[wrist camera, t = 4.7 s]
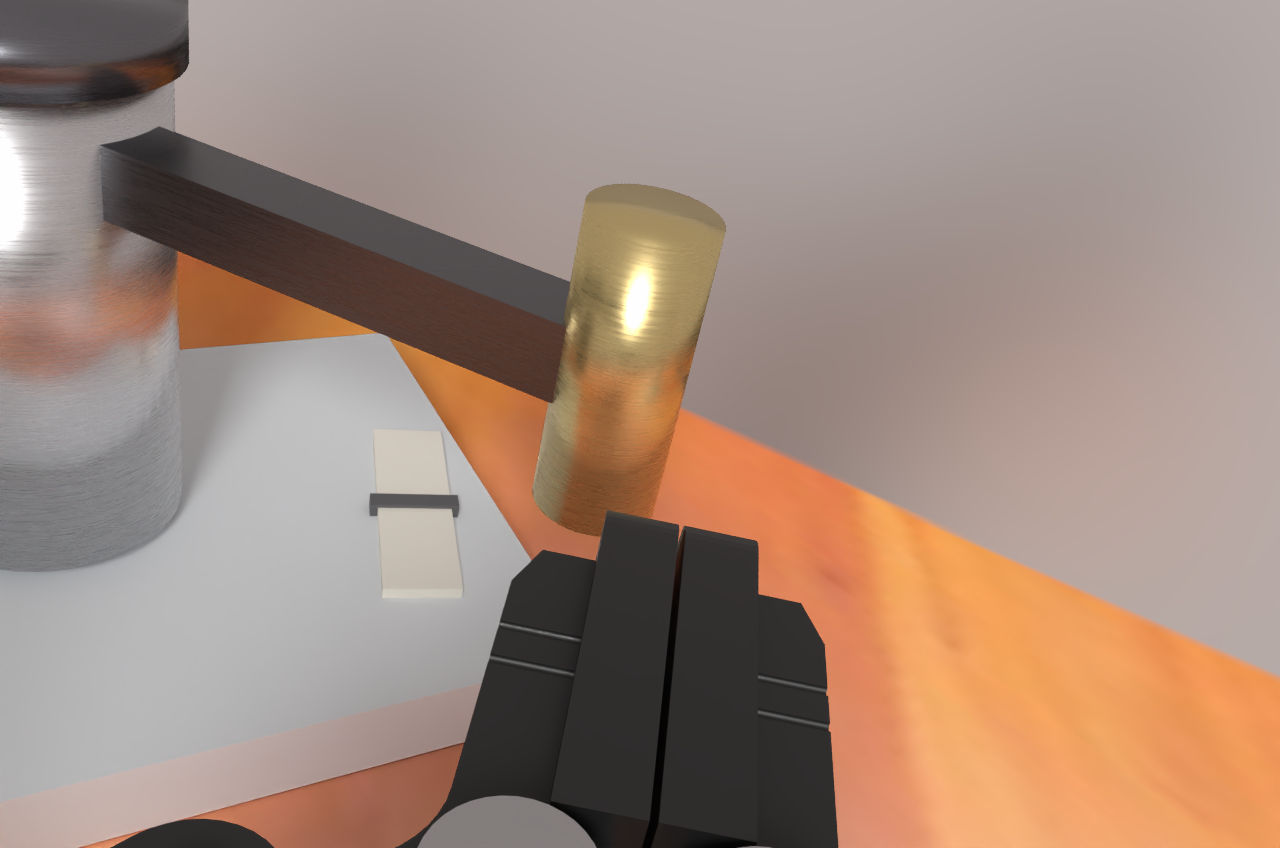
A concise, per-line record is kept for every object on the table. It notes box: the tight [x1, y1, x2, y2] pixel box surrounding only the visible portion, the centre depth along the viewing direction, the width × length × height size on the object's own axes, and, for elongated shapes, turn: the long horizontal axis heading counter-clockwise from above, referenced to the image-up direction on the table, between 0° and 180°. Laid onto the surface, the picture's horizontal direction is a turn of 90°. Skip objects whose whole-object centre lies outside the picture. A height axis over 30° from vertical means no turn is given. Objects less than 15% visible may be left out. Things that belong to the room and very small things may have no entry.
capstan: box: [0, 0, 726, 572], centre depth 25 cm, size 18×7×13 cm, turn 67°
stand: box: [0, 333, 532, 848], centre depth 30 cm, size 16×20×2 cm
